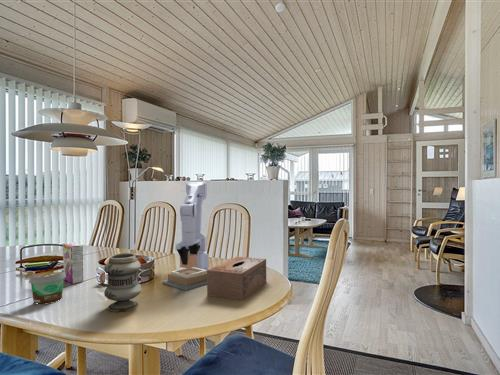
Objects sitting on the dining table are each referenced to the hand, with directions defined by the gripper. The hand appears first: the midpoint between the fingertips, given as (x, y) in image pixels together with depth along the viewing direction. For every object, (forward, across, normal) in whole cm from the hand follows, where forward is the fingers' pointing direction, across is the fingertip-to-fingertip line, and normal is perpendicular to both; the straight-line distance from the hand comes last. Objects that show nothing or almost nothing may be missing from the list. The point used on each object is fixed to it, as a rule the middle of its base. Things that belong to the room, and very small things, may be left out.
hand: (188, 263), depth 144 cm
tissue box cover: (+9, -4, +23) cm, 25 cm away
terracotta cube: (+2, 0, 0) cm, 2 cm away
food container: (+9, +42, -29) cm, 52 cm away
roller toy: (+9, +18, -31) cm, 36 cm away
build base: (+8, 0, 0) cm, 8 cm away
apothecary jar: (+9, +33, -1) cm, 34 cm away
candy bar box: (+9, +22, -48) cm, 54 cm away
